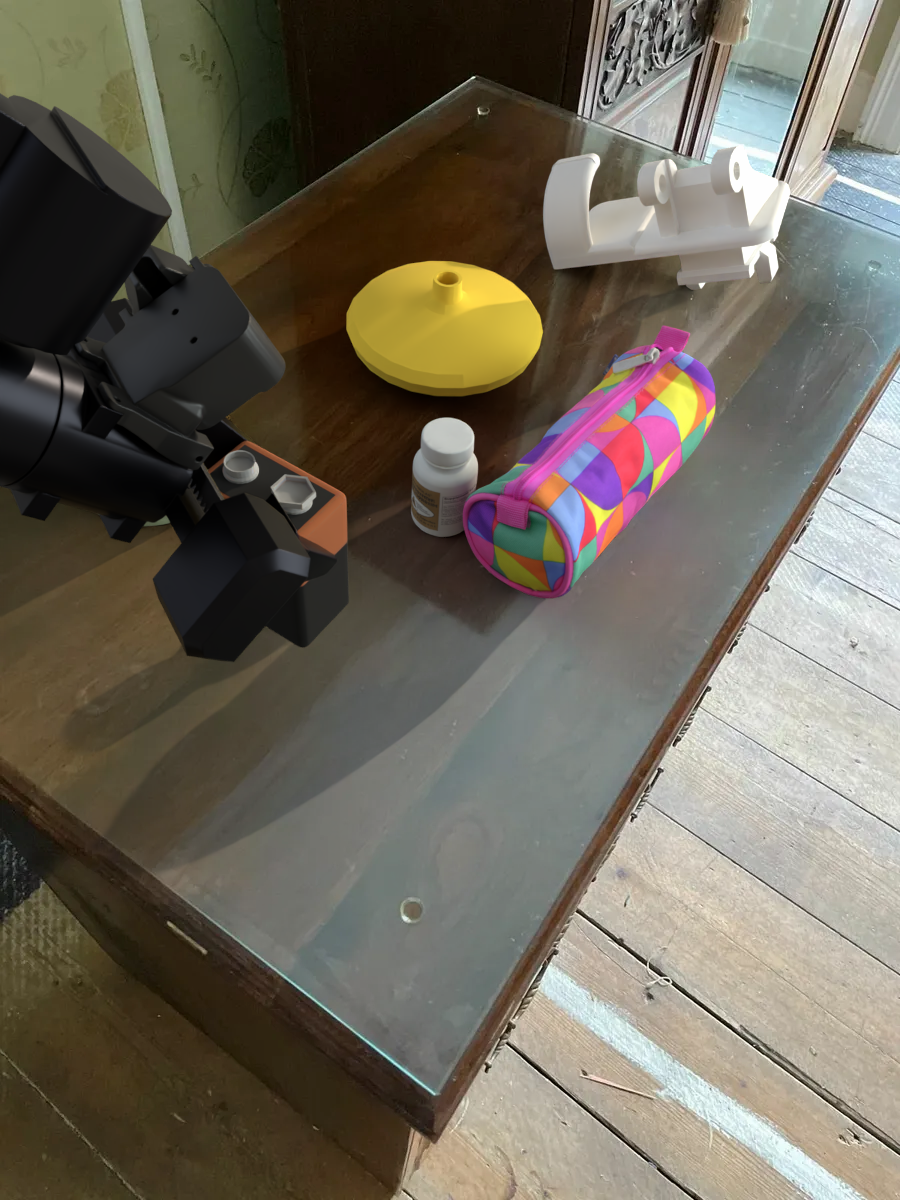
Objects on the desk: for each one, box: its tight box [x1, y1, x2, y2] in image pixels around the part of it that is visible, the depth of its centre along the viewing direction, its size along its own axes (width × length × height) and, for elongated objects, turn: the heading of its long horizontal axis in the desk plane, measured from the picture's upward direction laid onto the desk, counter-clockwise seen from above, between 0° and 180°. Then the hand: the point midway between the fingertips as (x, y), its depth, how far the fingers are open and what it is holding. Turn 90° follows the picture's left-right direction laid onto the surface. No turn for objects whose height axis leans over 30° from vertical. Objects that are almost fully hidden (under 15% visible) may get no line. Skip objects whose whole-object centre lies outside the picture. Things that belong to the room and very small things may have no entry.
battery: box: [208, 441, 350, 649], centre depth 50 cm, size 4×7×10 cm, turn 56°
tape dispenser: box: [542, 145, 791, 291], centre depth 83 cm, size 20×11×13 cm, turn 61°
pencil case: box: [463, 325, 717, 599], centre depth 66 cm, size 22×9×9 cm, turn 145°
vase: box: [346, 260, 544, 397], centre depth 76 cm, size 16×16×7 cm
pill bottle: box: [410, 417, 479, 538], centre depth 65 cm, size 4×4×8 cm
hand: (297, 512), depth 49 cm, fingers closed on battery, 7 cm apart
